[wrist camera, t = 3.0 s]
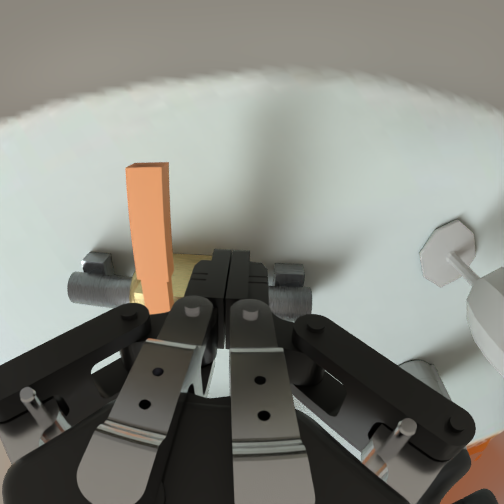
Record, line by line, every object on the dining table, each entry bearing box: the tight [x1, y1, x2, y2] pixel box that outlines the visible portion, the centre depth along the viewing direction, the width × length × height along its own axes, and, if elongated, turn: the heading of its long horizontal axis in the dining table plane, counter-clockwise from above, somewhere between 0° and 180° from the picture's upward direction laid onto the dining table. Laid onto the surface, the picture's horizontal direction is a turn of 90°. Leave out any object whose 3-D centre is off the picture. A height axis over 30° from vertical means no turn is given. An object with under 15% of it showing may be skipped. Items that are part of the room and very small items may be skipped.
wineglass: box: [419, 219, 504, 378], centre depth 24 cm, size 9×9×21 cm
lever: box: [126, 162, 174, 314], centre depth 23 cm, size 17×3×4 cm, turn 177°
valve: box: [68, 252, 312, 322], centre depth 31 cm, size 26×6×8 cm, turn 87°
